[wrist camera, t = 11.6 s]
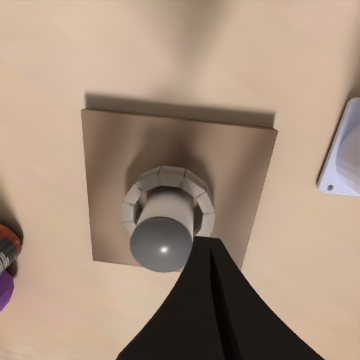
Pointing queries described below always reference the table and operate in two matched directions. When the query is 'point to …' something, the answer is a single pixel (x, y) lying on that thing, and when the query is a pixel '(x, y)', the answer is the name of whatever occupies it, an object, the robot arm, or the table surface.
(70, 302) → the table surface
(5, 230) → the supplement bottle
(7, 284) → the kendama
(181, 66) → the table surface
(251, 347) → the robot arm
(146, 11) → the table surface
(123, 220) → the board with ring socket
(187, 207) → the plug
